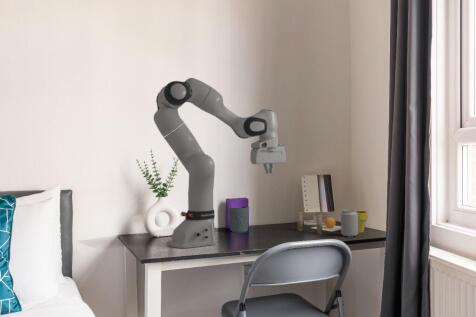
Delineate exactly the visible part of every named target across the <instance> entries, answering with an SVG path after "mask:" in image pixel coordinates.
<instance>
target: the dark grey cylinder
mask: <svg viewBox="0 0 476 317" xmlns="http://www.w3.org/2000/svg"><path fill="white" fill-rule="evenodd" d="M242 206H243V207H242V208H230V207H231V206H228V212H229V224H230V225H229V226H230V227H229V228H230V232H231V231H232V233H247V232H248V231H249V212H250V206H248V205H247V206H246V205H242Z"/></svg>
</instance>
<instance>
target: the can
mask: <svg viewBox="0 0 476 317" xmlns="http://www.w3.org/2000/svg"><path fill="white" fill-rule="evenodd" d="M356 210H357V209H349V208H348V209H347V208H346V209H342V210H341V211H342V212H341V213H340V224H341V225H340V226H341V230H340V233H341V234H340V235H342V236H343V237H345V236H348V237H347V238H354V237H353V236H355V237H357V235H358V234H359V233H358V213H357V212H356Z"/></svg>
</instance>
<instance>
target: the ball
mask: <svg viewBox="0 0 476 317" xmlns="http://www.w3.org/2000/svg"><path fill="white" fill-rule="evenodd" d="M323 222H324V225H325V226H326V227H327V228H333V227H334V226H336V219H335V218H334V217H327V218H325V219H324V221H323Z"/></svg>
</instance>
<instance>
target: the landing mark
mask: <svg viewBox="0 0 476 317" xmlns="http://www.w3.org/2000/svg"><path fill="white" fill-rule="evenodd" d="M310 229H314V230H317V226H312V227H310ZM322 231H324V232H336V231H341V225H335V226H334V227H333V228H327V227H326V226H325V224H322Z"/></svg>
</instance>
